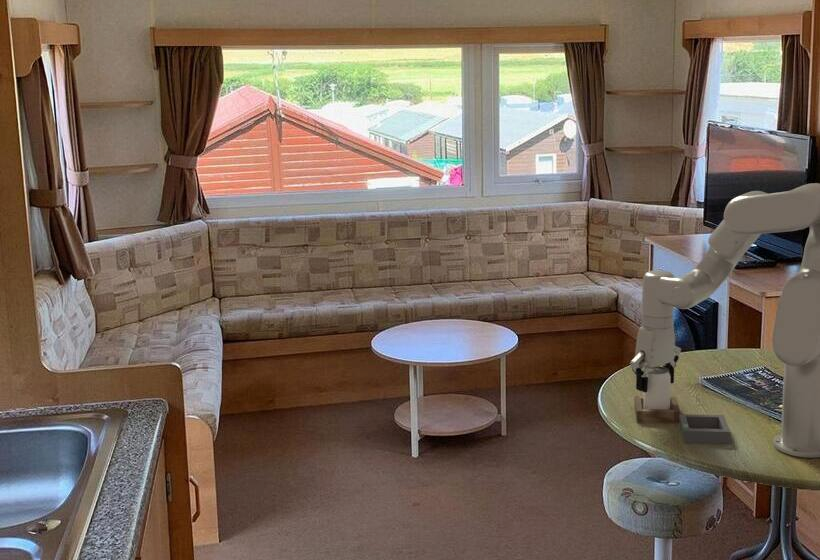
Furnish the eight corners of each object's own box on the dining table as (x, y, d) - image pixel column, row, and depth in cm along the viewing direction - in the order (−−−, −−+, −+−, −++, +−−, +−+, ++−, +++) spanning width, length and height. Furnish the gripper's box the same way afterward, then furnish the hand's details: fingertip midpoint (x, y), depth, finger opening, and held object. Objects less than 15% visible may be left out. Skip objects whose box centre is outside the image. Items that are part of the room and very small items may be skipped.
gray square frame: (723, 426, 229) (723, 412, 228) (729, 444, 219) (730, 429, 218) (679, 425, 231) (679, 411, 230) (683, 442, 221) (683, 428, 220)
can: (651, 421, 235) (652, 375, 232) (638, 412, 241) (639, 367, 238) (675, 417, 236) (675, 372, 233) (661, 408, 242) (662, 364, 239)
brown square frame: (676, 407, 242) (676, 396, 242) (680, 423, 232) (680, 411, 232) (634, 407, 244) (634, 396, 244) (636, 422, 234) (636, 411, 234)
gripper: (668, 311, 240) (666, 374, 245) (621, 324, 231) (619, 390, 235) (692, 317, 234) (689, 382, 239) (645, 331, 225) (642, 398, 229)
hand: (655, 386), depth 237 cm, fingers open, 9 cm apart
